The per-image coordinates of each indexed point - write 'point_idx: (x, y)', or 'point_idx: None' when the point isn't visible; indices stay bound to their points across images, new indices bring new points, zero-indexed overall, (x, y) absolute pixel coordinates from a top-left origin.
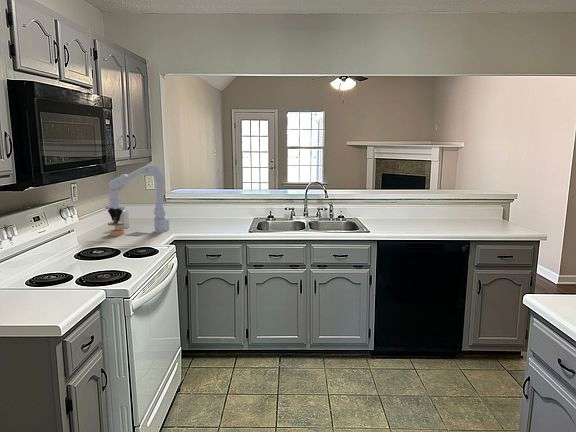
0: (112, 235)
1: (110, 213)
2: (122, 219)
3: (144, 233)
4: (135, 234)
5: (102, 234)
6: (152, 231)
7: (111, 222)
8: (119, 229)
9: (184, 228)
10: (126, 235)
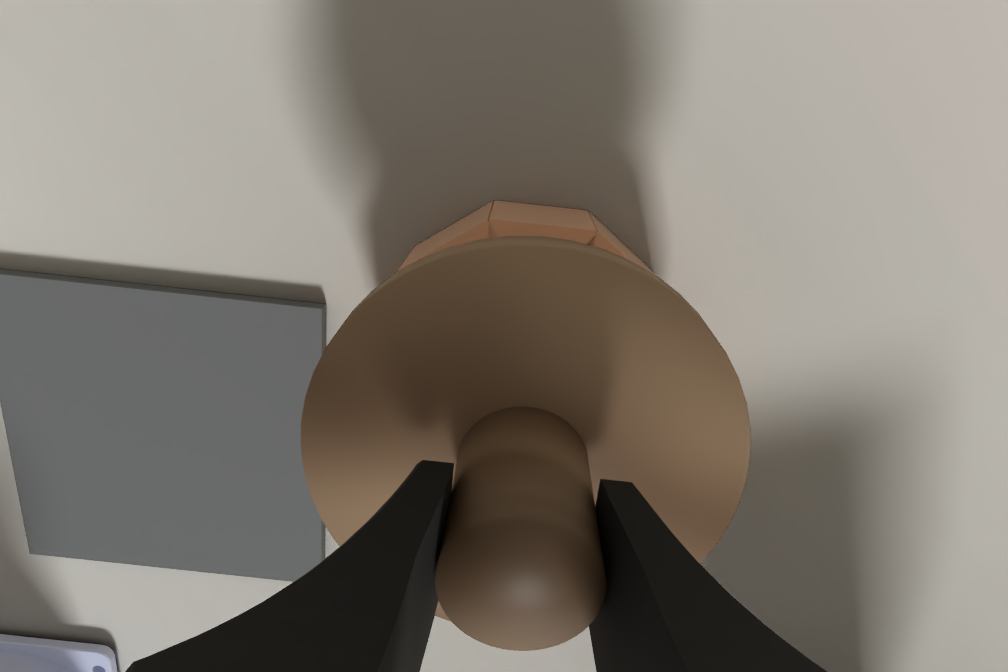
0: (519, 206)
1: (725, 648)
2: None
3: (90, 512)
4: (167, 409)
5: (853, 316)
6: (89, 651)
7: (722, 515)
8: None
9: None
10: (264, 301)
